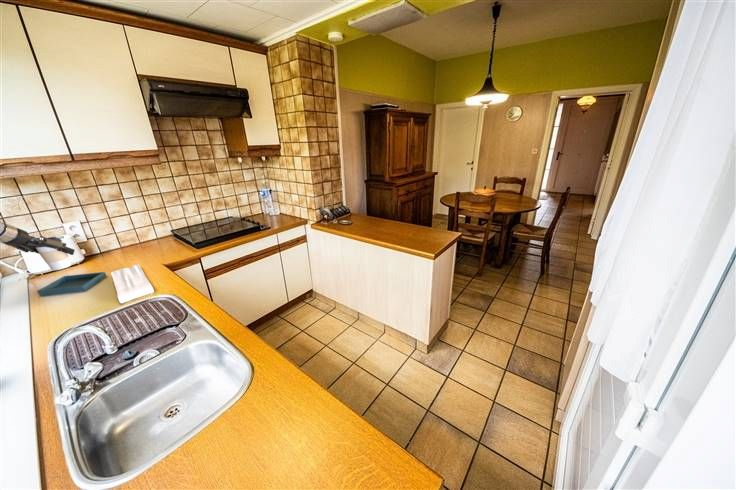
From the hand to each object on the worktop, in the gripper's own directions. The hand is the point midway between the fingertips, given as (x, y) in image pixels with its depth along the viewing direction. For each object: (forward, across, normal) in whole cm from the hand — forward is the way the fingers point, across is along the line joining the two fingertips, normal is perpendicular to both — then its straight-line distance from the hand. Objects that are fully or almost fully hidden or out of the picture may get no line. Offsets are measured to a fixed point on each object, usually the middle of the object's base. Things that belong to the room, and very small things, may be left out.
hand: (62, 253), depth 131 cm
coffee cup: (+2, 0, -7) cm, 7 cm away
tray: (+11, 0, -14) cm, 18 cm away
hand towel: (+7, +30, -18) cm, 36 cm away
